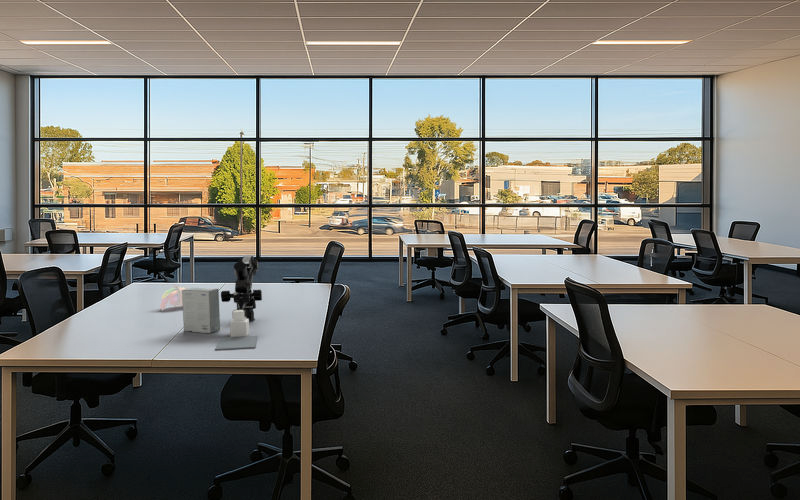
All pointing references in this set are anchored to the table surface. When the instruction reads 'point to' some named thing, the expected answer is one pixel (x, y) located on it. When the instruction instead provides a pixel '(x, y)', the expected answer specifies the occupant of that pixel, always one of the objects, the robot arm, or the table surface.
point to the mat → (236, 342)
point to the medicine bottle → (239, 323)
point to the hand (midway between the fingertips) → (241, 310)
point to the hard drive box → (201, 310)
